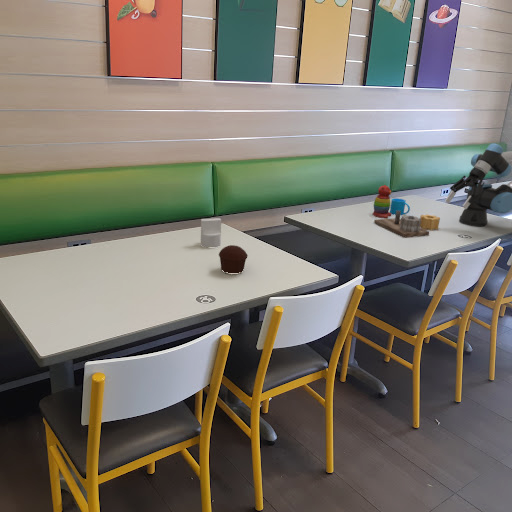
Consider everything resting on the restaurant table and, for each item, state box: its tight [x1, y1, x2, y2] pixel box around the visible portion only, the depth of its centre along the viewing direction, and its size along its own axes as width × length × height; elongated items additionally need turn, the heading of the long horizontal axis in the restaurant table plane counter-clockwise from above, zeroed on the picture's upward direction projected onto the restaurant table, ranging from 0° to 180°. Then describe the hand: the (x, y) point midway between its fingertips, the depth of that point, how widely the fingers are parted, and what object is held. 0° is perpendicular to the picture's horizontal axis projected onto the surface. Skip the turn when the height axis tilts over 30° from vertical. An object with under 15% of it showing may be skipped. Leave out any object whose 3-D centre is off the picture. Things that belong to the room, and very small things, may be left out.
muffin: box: [218, 244, 249, 273], centre depth 202 cm, size 12×11×10 cm
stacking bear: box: [372, 184, 393, 219], centre depth 294 cm, size 11×10×18 cm
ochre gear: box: [420, 214, 441, 231], centre depth 277 cm, size 10×10×6 cm
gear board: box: [373, 211, 430, 238], centre depth 271 cm, size 16×26×9 cm, turn 22°
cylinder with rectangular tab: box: [200, 217, 222, 248], centre depth 229 cm, size 9×9×12 cm
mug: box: [389, 198, 411, 216], centre depth 302 cm, size 12×8×8 cm
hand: (455, 204), depth 265 cm, fingers open, 13 cm apart
